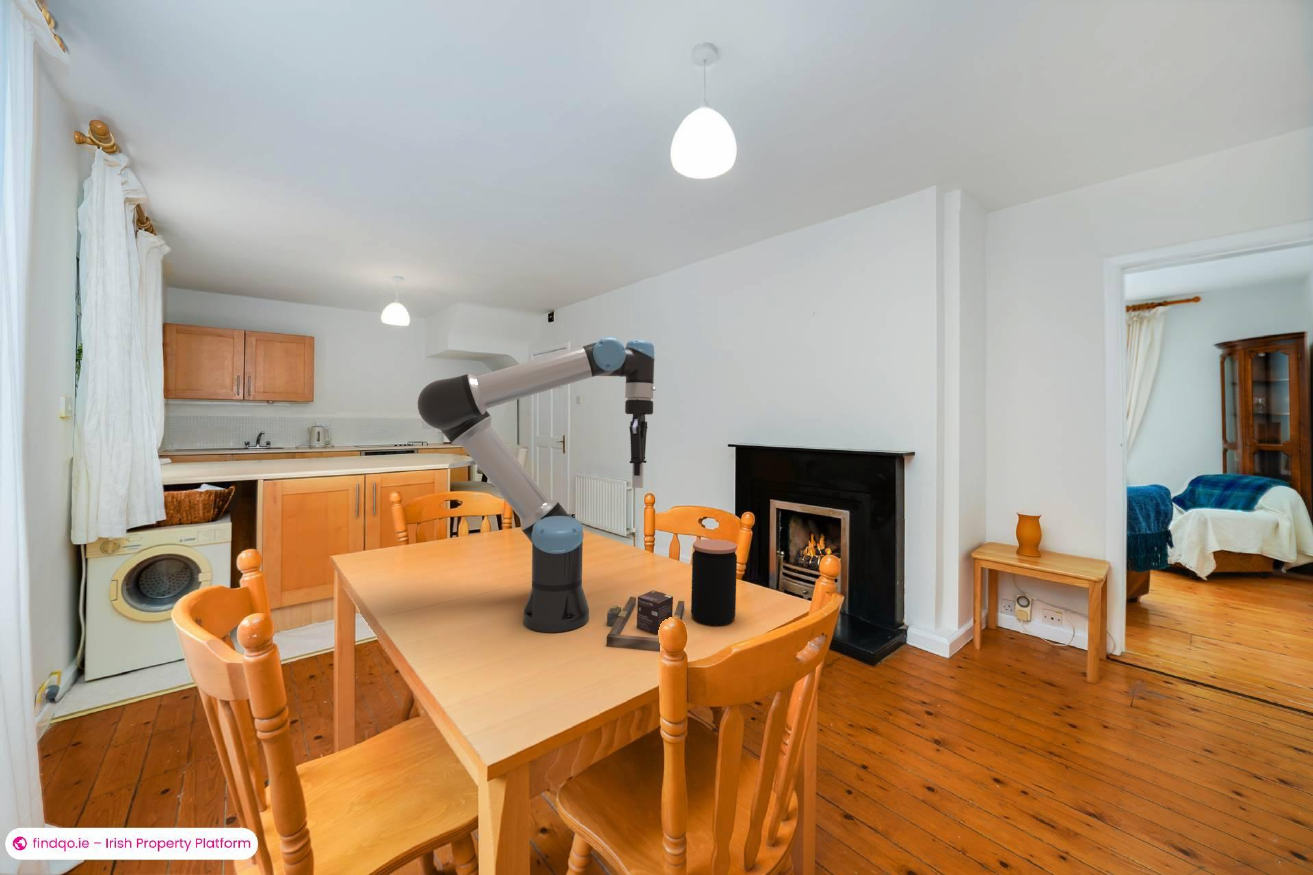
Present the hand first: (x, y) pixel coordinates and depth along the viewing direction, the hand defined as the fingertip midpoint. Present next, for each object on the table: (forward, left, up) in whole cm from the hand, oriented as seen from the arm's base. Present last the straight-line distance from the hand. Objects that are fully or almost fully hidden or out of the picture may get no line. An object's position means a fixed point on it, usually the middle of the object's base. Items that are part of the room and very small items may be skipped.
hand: (637, 487), depth 134 cm
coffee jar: (+21, -11, -30) cm, 38 cm away
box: (+8, -20, -30) cm, 37 cm away
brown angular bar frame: (+6, -19, -29) cm, 35 cm away
